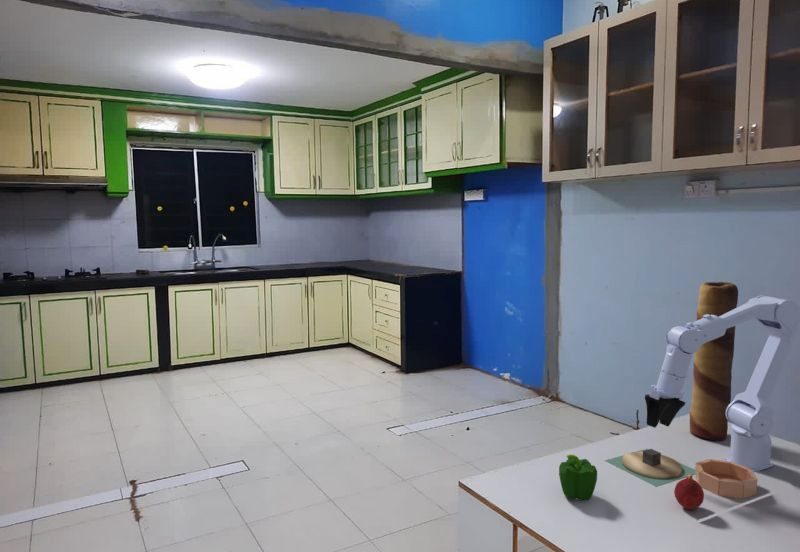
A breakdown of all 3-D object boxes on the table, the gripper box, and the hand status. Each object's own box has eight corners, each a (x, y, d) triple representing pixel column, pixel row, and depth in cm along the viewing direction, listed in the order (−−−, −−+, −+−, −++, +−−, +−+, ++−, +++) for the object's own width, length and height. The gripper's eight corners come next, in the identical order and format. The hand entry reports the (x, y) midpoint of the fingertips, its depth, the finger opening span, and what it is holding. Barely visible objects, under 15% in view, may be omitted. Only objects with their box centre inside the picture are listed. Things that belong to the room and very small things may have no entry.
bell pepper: (596, 490, 134) (597, 449, 132) (596, 507, 126) (597, 464, 125) (559, 485, 136) (560, 445, 135) (557, 501, 129) (558, 459, 127)
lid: (647, 450, 154) (648, 437, 154) (694, 471, 142) (694, 456, 141) (610, 461, 148) (610, 447, 147) (655, 483, 135) (656, 468, 135)
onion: (706, 518, 121) (708, 482, 120) (677, 515, 122) (679, 480, 121) (698, 504, 127) (700, 470, 126) (670, 502, 128) (672, 468, 127)
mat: (647, 450, 155) (647, 448, 155) (700, 473, 141) (700, 472, 141) (604, 462, 148) (604, 460, 148) (656, 488, 134) (656, 486, 134)
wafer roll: (739, 440, 161) (748, 284, 156) (706, 443, 159) (714, 285, 154) (712, 427, 172) (720, 280, 167) (681, 429, 170) (688, 281, 165)
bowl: (717, 471, 142) (717, 456, 142) (765, 492, 132) (766, 475, 131) (685, 481, 137) (685, 466, 137) (733, 504, 126) (734, 487, 126)
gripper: (669, 369, 149) (655, 418, 150) (644, 367, 139) (629, 419, 140) (696, 378, 143) (681, 429, 144) (673, 377, 134) (657, 431, 135)
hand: (657, 425), depth 142 cm, fingers open, 7 cm apart
